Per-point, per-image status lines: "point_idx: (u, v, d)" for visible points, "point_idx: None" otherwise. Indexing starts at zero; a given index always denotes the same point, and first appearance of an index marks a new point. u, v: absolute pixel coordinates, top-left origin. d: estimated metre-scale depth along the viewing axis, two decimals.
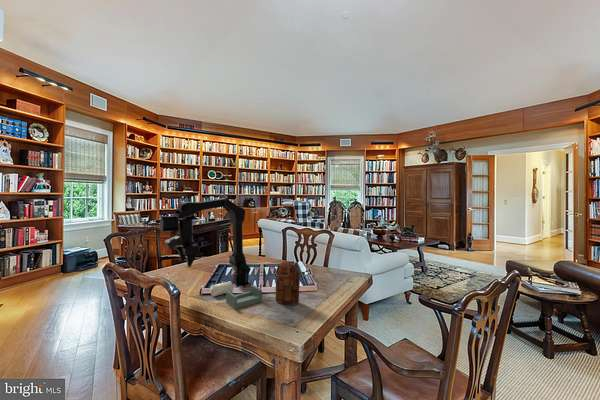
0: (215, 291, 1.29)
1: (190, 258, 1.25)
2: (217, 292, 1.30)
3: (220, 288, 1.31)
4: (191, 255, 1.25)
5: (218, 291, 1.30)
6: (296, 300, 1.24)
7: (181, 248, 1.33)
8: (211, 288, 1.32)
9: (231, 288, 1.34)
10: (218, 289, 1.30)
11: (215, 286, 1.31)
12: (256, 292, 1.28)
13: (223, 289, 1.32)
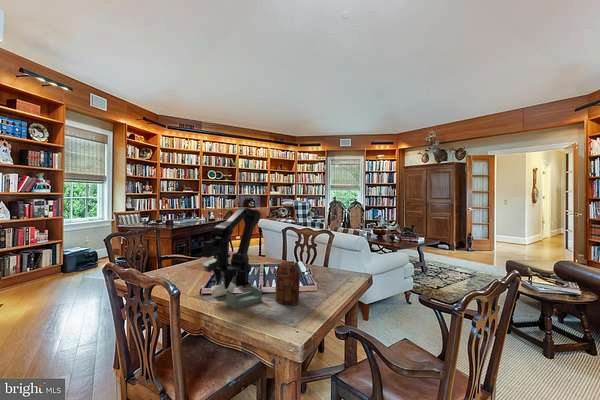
0: (216, 294, 1.29)
1: (227, 280, 1.29)
2: (217, 295, 1.29)
3: (221, 291, 1.30)
4: (228, 277, 1.29)
5: (219, 294, 1.30)
6: (296, 300, 1.24)
7: (216, 269, 1.37)
8: (212, 288, 1.30)
9: (232, 291, 1.34)
10: (219, 292, 1.29)
11: (217, 289, 1.29)
12: (256, 292, 1.28)
13: (224, 292, 1.31)
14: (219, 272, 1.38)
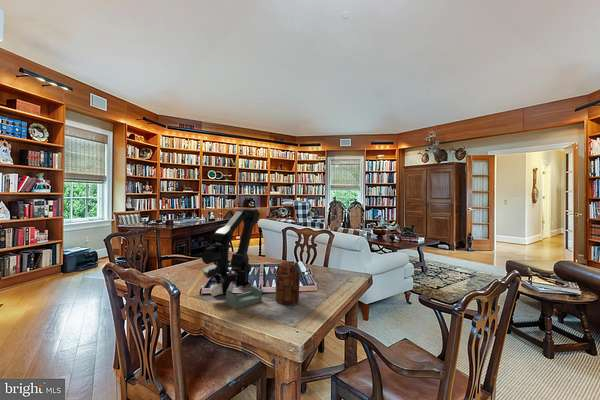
0: (215, 291, 1.29)
1: (225, 285, 1.31)
2: (217, 292, 1.30)
3: (220, 288, 1.31)
4: (226, 282, 1.31)
5: (218, 291, 1.30)
6: (296, 300, 1.24)
7: (218, 276, 1.36)
8: (211, 288, 1.32)
9: (231, 288, 1.34)
10: (218, 289, 1.30)
11: (215, 286, 1.31)
12: (256, 292, 1.28)
13: None
14: (221, 279, 1.36)
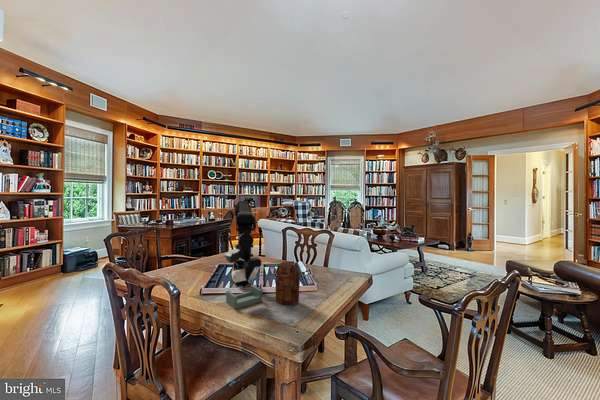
0: (238, 276, 1.20)
1: (248, 271, 1.22)
2: (239, 278, 1.21)
3: (243, 273, 1.22)
4: (249, 268, 1.22)
5: (241, 277, 1.21)
6: (296, 300, 1.24)
7: (240, 262, 1.27)
8: (233, 274, 1.23)
9: (254, 274, 1.25)
10: (241, 274, 1.21)
11: (237, 271, 1.22)
12: (256, 292, 1.28)
13: None
14: (243, 265, 1.28)
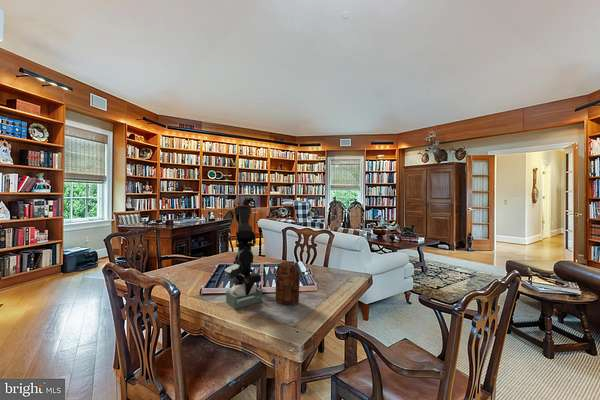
0: (238, 292, 1.21)
1: (248, 286, 1.22)
2: (239, 293, 1.21)
3: (243, 289, 1.23)
4: (249, 283, 1.23)
5: (241, 292, 1.22)
6: (296, 300, 1.24)
7: (240, 277, 1.27)
8: (233, 289, 1.23)
9: (254, 289, 1.26)
10: (241, 290, 1.22)
11: (237, 287, 1.22)
12: (256, 292, 1.28)
13: None
14: (242, 279, 1.28)
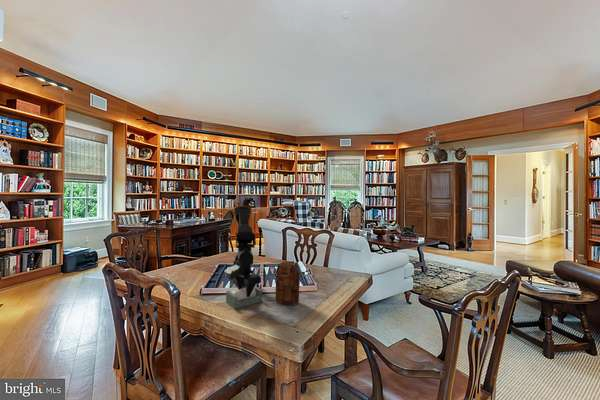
0: (238, 296, 1.21)
1: (249, 288, 1.22)
2: (239, 298, 1.22)
3: (243, 293, 1.23)
4: (250, 285, 1.22)
5: (241, 296, 1.22)
6: (296, 300, 1.24)
7: (239, 277, 1.28)
8: (233, 293, 1.23)
9: (254, 293, 1.26)
10: (241, 294, 1.22)
11: (237, 291, 1.22)
12: (256, 292, 1.28)
13: (246, 294, 1.24)
14: (241, 280, 1.29)
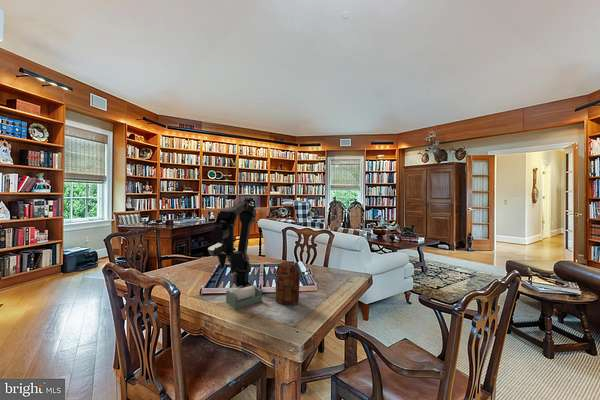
0: (237, 295, 1.21)
1: (233, 265, 1.26)
2: (239, 297, 1.22)
3: (242, 292, 1.23)
4: (234, 262, 1.26)
5: (240, 295, 1.22)
6: (296, 300, 1.24)
7: (221, 255, 1.33)
8: (232, 293, 1.24)
9: (253, 292, 1.26)
10: (240, 293, 1.22)
11: (237, 290, 1.23)
12: (256, 292, 1.28)
13: (245, 293, 1.24)
14: (223, 257, 1.34)
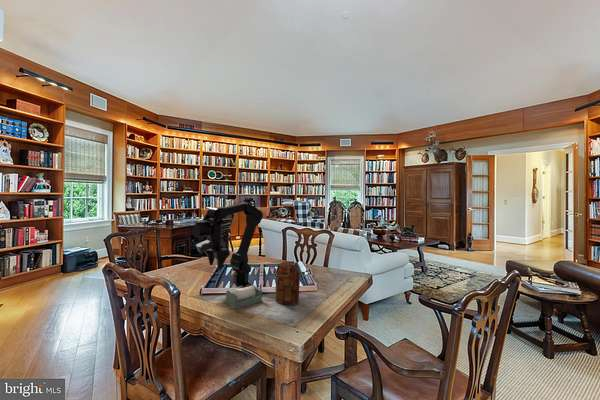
0: (237, 296, 1.21)
1: (220, 262, 1.30)
2: (239, 297, 1.22)
3: (242, 292, 1.23)
4: (221, 259, 1.30)
5: (240, 296, 1.22)
6: (296, 300, 1.24)
7: (210, 252, 1.37)
8: (232, 293, 1.24)
9: (253, 292, 1.26)
10: (240, 293, 1.22)
11: (237, 291, 1.23)
12: (256, 292, 1.28)
13: (245, 293, 1.24)
14: (212, 254, 1.38)
